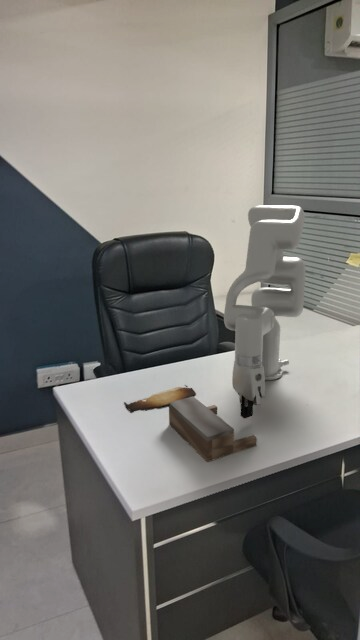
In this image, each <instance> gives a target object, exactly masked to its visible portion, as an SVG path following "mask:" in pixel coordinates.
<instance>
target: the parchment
mask: <svg viewBox="0 0 360 640" xmlns="http://www.w3.org/2000/svg"><path fill="white" fill-rule="evenodd" d="M184 386H185V387H183V386H177V387H173V388H169V389H166V390H163V391H159V392H156V393H152V394H151V395H150V396H149V397H147V398H143V399H139V400H137V401H134V402H133V401H132V402H131V403H129V404H127V402H126V401H124V405H125V408H126V409H127V410H128V411H130V412H131V413H135V412H139V411H143V412H145V411H149V410H152V409H153V410H155V409H157V410H158V409H159V408H161V407H163V406H166V405H169V402H173V401H177V400H181V399H185V398H189V397H192V396H195V395H197V393H196V391H195V390H194V389H193V387H188V385H186V384H184Z"/></svg>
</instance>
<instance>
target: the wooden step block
mask: <svg viewBox="0 0 360 640" xmlns="http://www.w3.org/2000/svg"><path fill="white" fill-rule="evenodd" d="M168 422H169V423H168V424H169V426H170V428H172V429H173V430H174V431H175V432H176V433H177V435H179V436H180V437H181V438H182V439H183V440H184V441H185V442H186V443H187V444H188V445H189V446H190V447H191V448H192V449H193V450H194V451H195V452H196V453H197V454H198V455H199V456H200V457H201V458H203V460H204V461H205V462H207V463H209V462H212V461H215V460H217V459H220V458H223V457H226V456H229V455H231V454H235V453H237V452H238V453H239V452H241V451H244V450H247V449H251V448H252V447H257V444H258V436H256V435H255V434H251V435H248V436H245V437H242V438H239V439H235V437H234V436H235V429H234V427H233V426H231V425H230V424H228V423H227V422H226V421H225V420H223V419H222V418H221V417H220V416H219V415H218V406H217V405H216V404H213V405H209V406H206V405H205V404H203V403H202V402H201V401H200V400H198V399H197V398H196V397H195V396H194V395H192V396H189V397H186V398H184V399H181V400H177V401H173V402H169V404H168ZM234 439H235V440H234Z"/></svg>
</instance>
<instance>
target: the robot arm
mask: <svg viewBox="0 0 360 640" xmlns="http://www.w3.org/2000/svg"><path fill="white" fill-rule="evenodd" d="M305 217H306V216H305V211H304V209H303V208H302V207H301V206H299V205H269V204H267V205H266V204H265V205H263V204H262V205H255V206H252V207H251V208H250V209H249V210H248V213H247V218H248V220H247V221H248V224H249V226H250V230H249V237H248V243H247V251H246V253H247V254H246V259H245V260H246V261H245V268H244V271H242V273H240V275H238V276H237V277H236V278H235V280H233V282H232V284H231V285H230V287H229V288H228V291H227V293H226V298H225V304H224V305H225V306H224V313H223V322H224V326H225V328H226V329H228V330H230V331H235V333H234V335H235V336H234V337H235V339H234V360H233V361H234V362H233V367H232V368H233V369H232V376H231V377H232V380H231V382H232V383H231V385H232V388H233V389H234V391H235V393H237V395H238V398H239V403H240V412H239V413H240V415H239V416H240V417H241V418H243V419H244V420H245V419H248V418H250V417H251V418H252V417H253V415H254V406H259V405H261V398H263V399H264V398H265V396H266V381H273V380H277V379H280V378H281V377H282V376H283V369H282V367H283V366H288V365H289V363H290V362H289V359H283V360H282V358H279V357H280V345H281V325H280V323H279V321H278V319H276V317H284V318H297V317H298V318H299V317H300V316H301V315H302V313H303V310H304V306H305V305H304V302H305V290H306V289H305V286H306V265H305V262H304V260H303V259H302V258H301V257H295V256H284V250H287V251H288V250H290V251H291V250H296V249H297V248H298V246H299V244H300V242H301V238H302V235H303V230H304V226H305ZM258 282H259V283H261V284H264V285H270V286H272V285H273V286H285V287H289V288H283V287H282V288H279V287H269V286H268V287H266V286H265V287H264V286H263V287H259V288H256V289H254V291H253V292H252V294H251V305H246V304H245V305H244V304H237V299H238V297H239V295H240V294H241V292H242V291H243V290H244V289H246V288H247V287H249V286H251V285H254V284H256V283H258Z"/></svg>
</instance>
